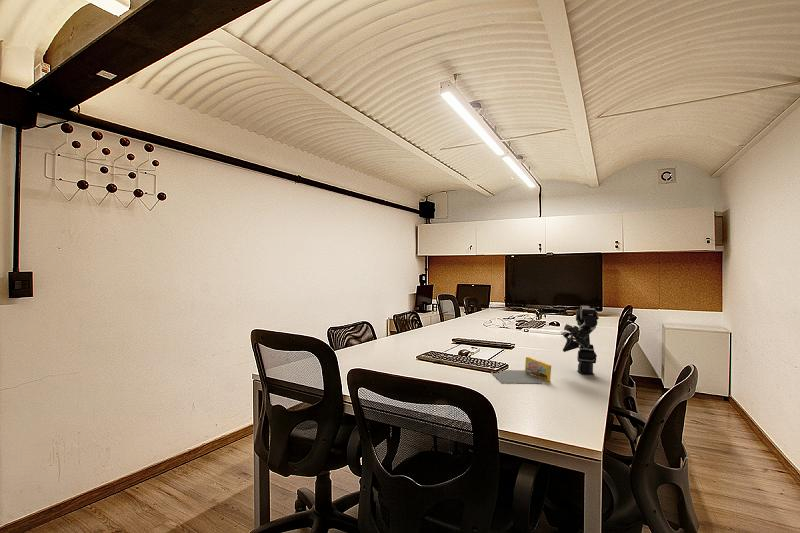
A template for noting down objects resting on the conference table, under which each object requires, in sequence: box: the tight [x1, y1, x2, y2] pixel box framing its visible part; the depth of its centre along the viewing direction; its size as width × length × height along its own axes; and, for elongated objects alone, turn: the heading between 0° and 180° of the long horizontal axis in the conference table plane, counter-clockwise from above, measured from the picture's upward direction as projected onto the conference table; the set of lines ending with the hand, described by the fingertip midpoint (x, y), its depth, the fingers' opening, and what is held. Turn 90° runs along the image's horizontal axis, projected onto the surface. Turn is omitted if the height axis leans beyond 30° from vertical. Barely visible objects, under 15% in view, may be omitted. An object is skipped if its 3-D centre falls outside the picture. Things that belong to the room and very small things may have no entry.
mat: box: [490, 369, 542, 385], centre depth 200 cm, size 20×22×1 cm
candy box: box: [524, 356, 552, 382], centre depth 200 cm, size 16×2×8 cm, turn 25°
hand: (563, 351), depth 201 cm, fingers closed
